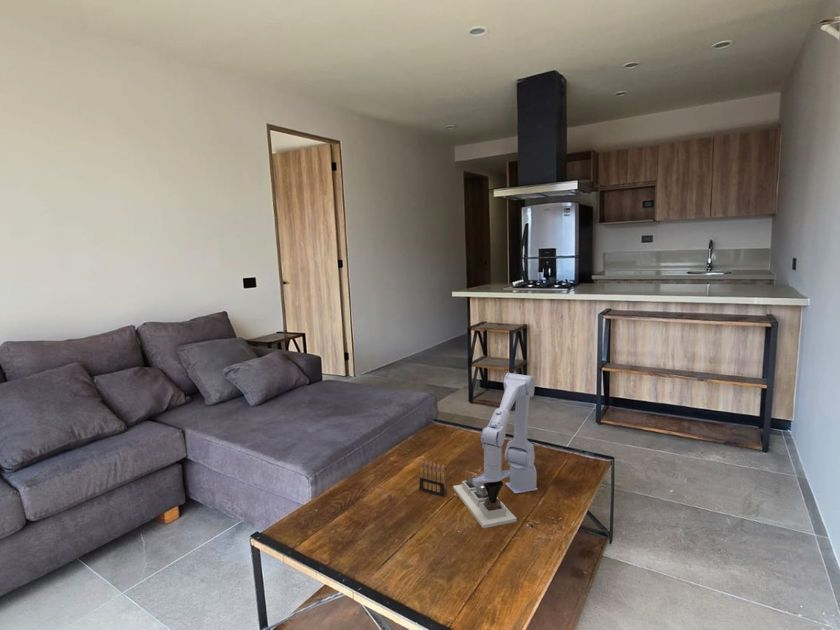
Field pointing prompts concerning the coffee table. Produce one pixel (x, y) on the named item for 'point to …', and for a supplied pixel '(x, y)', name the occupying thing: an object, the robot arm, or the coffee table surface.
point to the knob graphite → (470, 482)
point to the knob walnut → (492, 504)
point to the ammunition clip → (432, 479)
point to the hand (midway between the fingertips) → (492, 501)
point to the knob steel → (481, 491)
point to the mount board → (483, 508)
